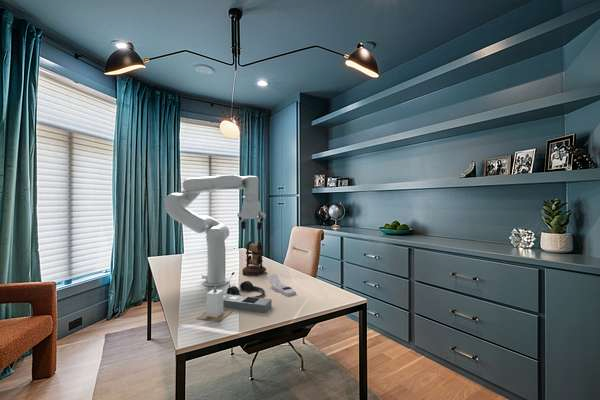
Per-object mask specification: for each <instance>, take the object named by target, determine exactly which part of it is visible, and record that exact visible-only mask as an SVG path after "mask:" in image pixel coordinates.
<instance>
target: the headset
mask: <svg viewBox="0 0 600 400" xmlns="http://www.w3.org/2000/svg"><path fill="white" fill-rule="evenodd" d="M234 275H235V272H234V271H233V272H232V273H231V276H230V277H229V280H228V287H227V290H226V294H231V295H240V296H244V295H242V294H241V292H240V290H241V291H246V292H251V291H254V292H260V293H261V294H259V295H256V296H255V295H253V296H252V297H257V298H263V297H264V296H265V293H266V291H265V290H264V288H261V287H259V286H256V285H253V283H252V282H251V281H249V280H245V281H242V282H241V283H240V285H239V287H237V286H235V285H232V286H231V284H230V283H231V278H232V277H233V276H234ZM239 289H240V290H239ZM248 297H250V296H248Z"/></svg>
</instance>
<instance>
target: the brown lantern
mask: <svg viewBox="0 0 600 400" xmlns="http://www.w3.org/2000/svg"><path fill="white" fill-rule="evenodd" d="M245 246H246V252H245V254H246V259H245V262H246V264H245V265H246V266H245V267H243V268H242V271H241V272H242V274H243V275H245V274H247V275H248V274H249V275H256V276H259V274H263V273H265V272H266V271H267V268H266V266H263V262H264V261H263V255H264V253H263V247H264V246H263V244H262V242H261V241H258V242H257V243H253V242H252V241H251V240H249V241H248V242H247V244H246V245H245Z"/></svg>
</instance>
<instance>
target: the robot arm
mask: <svg viewBox="0 0 600 400" xmlns="http://www.w3.org/2000/svg"><path fill="white" fill-rule="evenodd" d="M220 190H221V191H222V190H244V195H243V196H242V199H244V200H242V204H241V211H240V212H238V213H237V214H236V215H237V217H238V219H239V221H240V223H241V225H240V226H241V229H242V230H245V229H246V227H247V225H246V220H256V221H257V227H256V228H257V231H259V230H260V231H261V230H262V226H263V224H262V223H263V222H264V220H265V218H266V216H267V214H266V213H264V212H262V210H261V209H262V208H261V202H260V200H259V177H258V176H256V175H246V176H240V175H239V174H226V175H225V174H224V175H223V174H222V175H215V176H214V175H213V176H199V177H189V178H186V179H184V181H183V182H182V191H181V192H173V193H169V194H168V195H166V197H165V199H164V202H163V203H164V208H165V212H166V213H167V214H168V215H169V217H170V218H172V219H174V221H177V222H178V223H180V224H181V225H183V226H185V227H187V228H188V229H190V230H192V231H193V232H194V233H196V234H203V233H205V234H206V235H205V236H206V237H205V238H206V247H207V248H206V249H207V251H206V253H207V256H206V257H207V271H206V272H207V274H205V273H202V276H201V278H202V279H203V280H205V281H204V285H205V286H207V287H221V286H225V285H227V284H229V279H228V278H226V241H225V240H226V239H227V238H228V237H229V235H230V230H229V228H228V226H227V225H225V224H223V223H222V222H220V221H218V220H217V219H215V218H213V217H211V216H209V215H199V214H197V213H195V212H194V211H192V210H191V209H188V208H186V207H188V206H189V205H190V204H192V203H193V202H194V201H195V199H197V198H198V196H199V195H200V194H202V193H214V192H216V191H220ZM202 279H201V280H202Z"/></svg>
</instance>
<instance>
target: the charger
mask: <svg viewBox="0 0 600 400" xmlns="http://www.w3.org/2000/svg"><path fill="white" fill-rule="evenodd" d="M217 287H218V286H213V289H211V290H210V291H208V292H206V304H205V305H206V308H205V309H206V310H205V312H206V316H208V317H216V318H217V317H218V316H220V315H221V314H222V313H223V310H224V308H223V294H224V290H223V289H217Z"/></svg>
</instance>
